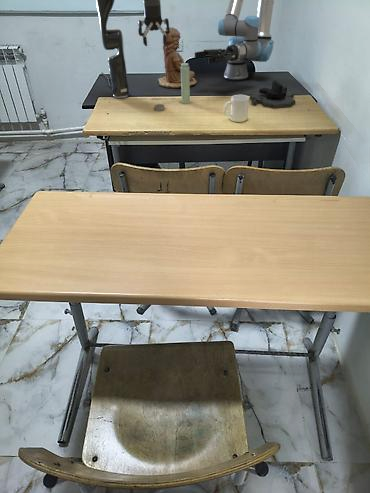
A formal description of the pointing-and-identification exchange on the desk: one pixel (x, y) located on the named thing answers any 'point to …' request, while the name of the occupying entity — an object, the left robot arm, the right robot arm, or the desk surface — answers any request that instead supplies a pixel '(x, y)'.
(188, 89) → the bottle
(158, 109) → the lid
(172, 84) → the sculpture
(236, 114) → the mug
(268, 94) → the abstract sculpture
